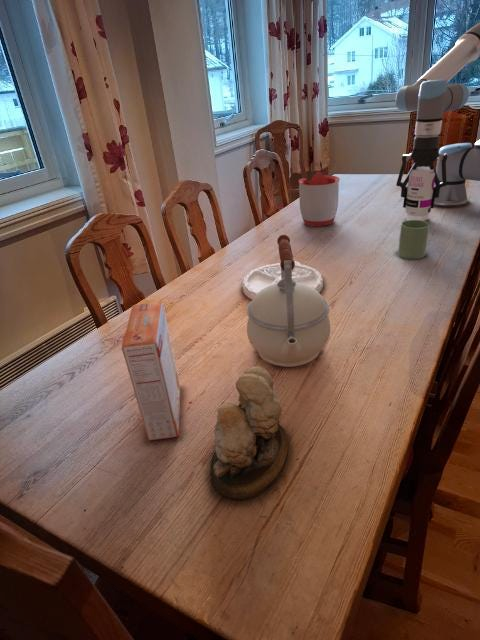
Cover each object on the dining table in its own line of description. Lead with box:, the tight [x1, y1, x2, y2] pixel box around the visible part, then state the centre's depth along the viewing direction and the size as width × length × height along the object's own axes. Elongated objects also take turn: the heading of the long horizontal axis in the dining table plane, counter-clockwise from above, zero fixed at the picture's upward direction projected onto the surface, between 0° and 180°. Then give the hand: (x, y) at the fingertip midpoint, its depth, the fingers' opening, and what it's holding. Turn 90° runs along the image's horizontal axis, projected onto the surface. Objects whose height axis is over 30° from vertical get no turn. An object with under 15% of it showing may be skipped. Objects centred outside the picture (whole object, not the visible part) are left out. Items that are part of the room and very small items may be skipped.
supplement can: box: [404, 166, 435, 216], centre depth 144 cm, size 8×8×15 cm
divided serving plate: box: [242, 260, 324, 301], centre depth 127 cm, size 24×27×2 cm
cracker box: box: [121, 301, 182, 442], centre depth 77 cm, size 14×6×21 cm, turn 5°
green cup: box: [397, 220, 430, 260], centre depth 136 cm, size 8×8×10 cm
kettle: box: [246, 234, 331, 368], centre depth 90 cm, size 25×18×25 cm
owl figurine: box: [209, 365, 289, 501], centre depth 67 cm, size 18×12×17 cm, turn 157°
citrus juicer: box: [298, 171, 340, 228], centre depth 169 cm, size 16×17×20 cm
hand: (418, 206), depth 147 cm, fingers closed on supplement can, 8 cm apart
